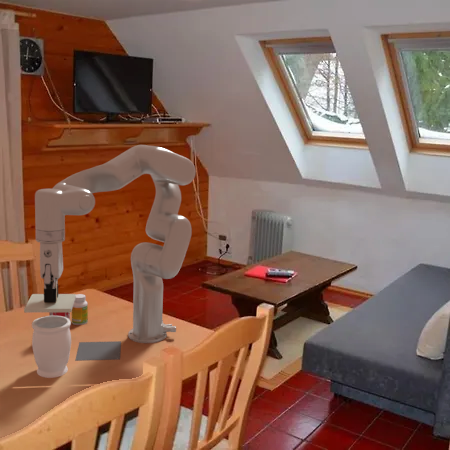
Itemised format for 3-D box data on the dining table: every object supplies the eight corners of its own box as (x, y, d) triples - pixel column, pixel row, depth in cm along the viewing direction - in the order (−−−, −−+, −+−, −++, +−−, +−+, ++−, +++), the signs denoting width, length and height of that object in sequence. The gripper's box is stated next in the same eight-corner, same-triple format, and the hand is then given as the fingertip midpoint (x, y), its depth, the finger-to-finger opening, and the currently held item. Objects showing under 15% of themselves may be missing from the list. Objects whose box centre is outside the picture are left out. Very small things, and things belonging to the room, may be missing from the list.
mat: (121, 342, 180) (121, 341, 180) (120, 360, 167) (120, 359, 167) (79, 343, 178) (79, 342, 178) (75, 361, 165) (75, 360, 165)
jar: (26, 370, 158) (24, 320, 155) (59, 360, 166) (59, 312, 162) (44, 384, 151) (43, 332, 148) (78, 373, 158) (78, 323, 155)
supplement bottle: (84, 326, 191) (83, 299, 189) (69, 324, 192) (68, 297, 190) (90, 320, 196) (90, 294, 194) (75, 318, 197) (75, 292, 195)
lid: (75, 297, 161) (75, 274, 160) (71, 312, 150) (71, 287, 148) (32, 297, 159) (31, 273, 158) (24, 312, 148) (23, 287, 146)
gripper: (60, 242, 143) (61, 310, 147) (68, 228, 159) (68, 290, 163) (30, 242, 142) (31, 310, 146) (40, 228, 158) (41, 290, 162)
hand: (51, 299), depth 154 cm, fingers closed on lid, 3 cm apart
